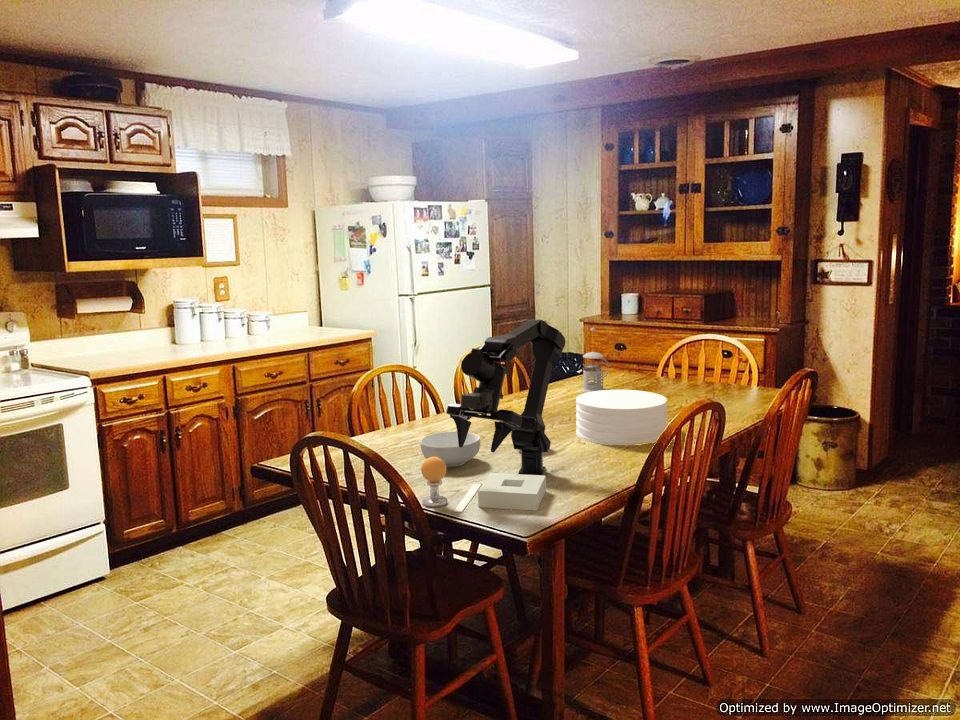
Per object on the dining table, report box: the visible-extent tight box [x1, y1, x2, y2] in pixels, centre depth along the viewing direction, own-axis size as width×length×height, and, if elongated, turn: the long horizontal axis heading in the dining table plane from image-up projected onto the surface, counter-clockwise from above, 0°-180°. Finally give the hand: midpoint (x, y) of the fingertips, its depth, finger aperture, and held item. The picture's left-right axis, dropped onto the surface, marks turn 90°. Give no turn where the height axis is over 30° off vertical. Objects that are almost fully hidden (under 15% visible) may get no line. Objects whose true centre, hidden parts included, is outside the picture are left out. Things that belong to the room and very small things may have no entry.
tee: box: [421, 479, 448, 508], centre depth 193 cm, size 6×6×6 cm
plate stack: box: [575, 389, 668, 446], centre depth 252 cm, size 28×28×12 cm
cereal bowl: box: [420, 431, 481, 468], centre depth 226 cm, size 17×17×7 cm
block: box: [477, 472, 547, 511], centre depth 195 cm, size 14×14×4 cm
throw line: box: [453, 483, 482, 513], centre depth 197 cm, size 20×2×1 cm, turn 167°
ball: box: [420, 457, 447, 482], centre depth 192 cm, size 6×6×6 cm
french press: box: [580, 327, 610, 393], centre depth 317 cm, size 10×12×25 cm
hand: (476, 449), depth 192 cm, fingers open, 9 cm apart
